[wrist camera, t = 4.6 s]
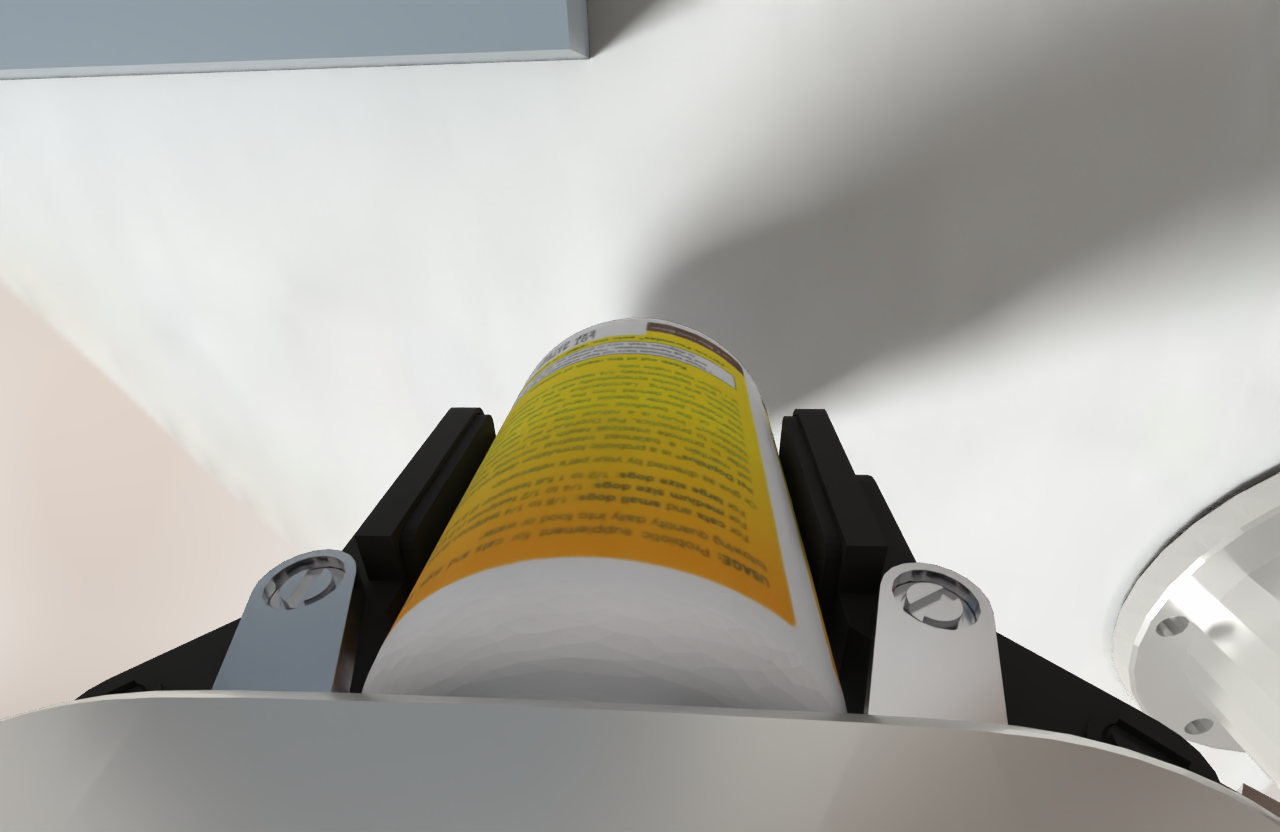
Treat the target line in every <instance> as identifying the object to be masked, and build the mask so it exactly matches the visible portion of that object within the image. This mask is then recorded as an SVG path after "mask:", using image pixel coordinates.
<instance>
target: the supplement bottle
mask: <svg viewBox="0 0 1280 832" xmlns="http://www.w3.org/2000/svg"><path fill="white" fill-rule="evenodd" d="M362 693H366V694H395V695H424V696H453V697H481V698H507V699H532V700H558V701H583V702H607V703H631V704H656V705H679V706H701V707H723V708H745V709H767V710H789V711H810V712H832V713H847V709H846V705H845V700H844V696H843V692H842V688H841V685H840V681H839V678H838V674H837V670H836V666H835V663H834V659H833V655H832V651H831V647H830V644H829V640H828V636H827V632H826V629H825V625H824V621H823V617H822V613H821V609H820V606H819V602H818V598H817V594H816V590H815V586H814V582H813V579H812V575H811V571H810V567H809V563H808V560H807V556H806V552H805V548H804V545H803V541H802V538H801V534H800V531H799V527H798V523H797V520H796V516H795V512H794V509H793V504H792V499H791V497H790V494H789V490H788V486H787V483H786V479H785V476H784V472H783V469H782V465H781V462H780V458H779V455H778V452H777V448H776V444H775V440H774V437H773V433H772V430H771V426H770V422H769V419H768V415H767V411H766V408H765V406H764V403H763V400H762V398H761V395H760V393H759V391H758V389H757V386H756V384H755V383H754V381H753V379H752V377H751V376H750V375H749V373H748V372H747V370H746V369H745V368H744V367H743V365H742V364H741V363H740V362H739V361H738V360H737V359H736V358H735V357H734V356H733V355H732V354H731V353H730V352H729V351H727V350H726V349H725V348H724V347H723V346H721V345H720V344H719V343H717V342H716V341H714V340H713V339H711V338H709V337H707V336H706V335H704V334H702V333H700V332H698V331H696V330H694V329H691V328H689V327H686V326H683V325H680V324H677V323H673V322H669V321H665V320H659V319H651V318H627V319H620V320H613V321H609V322H604V323H600V324H597V325H594V326H591V327H589V328H586V329H584V330H582V331H580V332H578V333H576V334H574V335H572V336H570V337H569V338H567V339H565V340H564V341H563V342H561V343H560V344H559V345H557V346H556V347H555V348H554V349H552V350H551V351H550V352H549V353H548V354H547V355H546V356H545V357H544V358H543V359H542V361H541V362H540V363H539V364H538V365H537V367H536V368H535V369H534V371H533V372H532V374H531V375H530V377H529V379H528V380H527V382H526V383H525V385H524V387H523V389H522V391H521V392H520V394H519V396H518V398H517V400H516V401H515V403H514V405H513V407H512V409H511V411H510V413H509V414H508V416H507V418H506V420H505V422H504V423H503V425H502V427H501V429H500V431H499V432H498V434H497V436H496V438H495V439H494V441H493V443H492V445H491V447H490V449H489V451H488V452H487V454H486V456H485V458H484V460H483V462H482V463H481V465H480V467H479V469H478V470H477V472H476V474H475V476H474V478H473V479H472V481H471V483H470V485H469V487H468V489H467V491H466V492H465V494H464V496H463V498H462V499H461V501H460V503H459V505H458V507H457V509H456V510H455V512H454V514H453V516H452V518H451V520H450V521H449V523H448V525H447V527H446V529H445V531H444V532H443V534H442V536H441V538H440V540H439V542H438V543H437V545H436V547H435V549H434V551H433V553H432V554H431V556H430V558H429V560H428V562H427V564H426V566H425V567H424V569H423V571H422V573H421V575H420V577H419V578H418V580H417V582H416V584H415V586H414V588H413V590H412V591H411V593H410V595H409V597H408V599H407V601H406V603H405V604H404V606H403V608H402V610H401V612H400V614H399V615H398V617H397V619H396V621H395V623H394V624H393V626H392V628H391V630H390V632H389V634H388V635H387V637H386V639H385V641H384V643H383V645H382V646H381V648H380V650H379V653H378V655H377V657H376V659H375V661H374V663H373V665H372V667H371V669H370V671H369V674H368V676H367V679H366V681H365V684H364V687H363V690H362Z"/></svg>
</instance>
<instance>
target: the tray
mask: <svg viewBox="0 0 1280 832" xmlns="http://www.w3.org/2000/svg"><path fill="white" fill-rule="evenodd" d="M578 59H590V50H589V34H588V17H587V0H0V80H13V79H42V78H70V77H98V76H126V75H154V74H183V73H211V72H239V71H267V70H295V69H324V68H352V67H380V66H408V65H436V64H465V63H493V62H521V61H549V60H578Z"/></svg>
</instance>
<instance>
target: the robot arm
mask: <svg viewBox="0 0 1280 832" xmlns="http://www.w3.org/2000/svg"><path fill="white" fill-rule="evenodd" d="M495 438H496V435H495V429H494V423H493V419H492V417H491V415H484V413H483V411H482V409H481V408H451V409H450V410H449V411H448V412H447V413H446V415H445V416H444V417H443V419H442V420H441V421H440V423H439V424H438V425H437V427H436V428H435V429H434V431H433V432H432V433H431V434H430V436H429V437H428V438H427V440H426V441H425V442H424V444H423V445H422V446H421V448H420V449H419V450H418V452H417V453H416V454H415V456H414V457H413V458H412V460H411V461H410V462H409V463H408V465H407V466H406V467H405V469H404V470H403V471H402V473H401V474H400V475H399V477H398V478H397V479H396V481H395V482H394V483H393V484H392V486H391V487H390V488H389V490H388V491H387V492H386V494H385V495H384V496H383V498H382V499H381V500H380V502H379V503H378V504H377V506H376V507H375V508H374V510H373V511H372V512H371V513H370V515H369V516H368V517H367V519H366V520H365V521H364V523H363V524H362V525H361V527H360V528H359V529H358V531H357V532H356V533H355V535H354V536H353V537H352V539H351V540H350V541H349V542H348V544H347V545H346V546H345V548H344V549H343V550H342V551H339V550H331V549H327V550H317V551H312V552H308V553H304V554H301V555H298V556H296V557H294V558H291V559H289V560H287V561H284V562H283V563H281V564H280V565H278V566H276V567H275V568H273V569H272V570H270V571H269V572H268V573H267V574H266V575H265V576H264V577H263V578H262V579H261V580H260V581H259V582H258V583H257V585H256V587H255V588H254V590H253V592H252V593H251V596H250V598H249V601H248V603H247V605H246V608H245V610H244V613H243V615H242V617H241V618H239V619H237V620H235V621H233V622H231V623H229V624H226V625H224V626H222V627H220V628H218V629H216V630H213V631H212V632H209V633H207V634H205V635H203V636H200V637H198V638H196V639H194V640H192V641H190V642H188V643H186V644H183V645H181V646H179V647H177V648H175V649H173V650H170V651H168V652H166V653H164V654H162V655H159V656H157V657H155V658H153V659H151V660H149V661H146V662H144V663H142V664H140V665H138V666H136V667H133V668H131V669H129V670H127V671H125V672H123V673H121V674H118V675H116V676H114V677H112V678H110V679H108V680H106V681H104V682H102V683H100V684H99V685H97V686H95V687H93V688H92V689H89V690H88V691H86V692H85V693H84V694H82V695H81V696H80V697H78V698H77V699H75V700H74V701H68V702H62V703H58V704H54V705H50V706H47V707H43V708H39V709H35V710H32V711H28V712H24V713H21V714H17V715H13V716H10V717H6V718H3V719H0V832H1280V802H1278V801H1276V800H1274V799H1272V798H1270V797H1268V796H1266V795H1265V794H1263V793H1261V792H1259V791H1257V790H1255V789H1253V788H1251V787H1250V786H1248V785H1246V784H1244V783H1243V784H1242V786H1241V787H1240V788H1239V789H1238V791H1235V790H1233V789H1231V788H1229V787H1227V786H1226V785H1224V784H1222V783H1220V781H1219V779H1218V777H1217V775H1216V772H1215V771H1214V770H1213V769H1212V767H1211V766H1210V765H1209V764H1208V762H1207V761H1206V760H1205V758H1204V757H1203V756H1202V755H1201V753H1200V752H1199V751H1197V750H1196V749H1195V748H1194V747H1193V746H1192V745H1191V744H1189V743H1188V742H1187V741H1186V740H1188V741H1191V742H1194V743H1198V744H1201V745H1205V746H1208V747H1211V748H1216V749H1224V750H1231V751H1238V752H1246V753H1247V754H1248V755H1249V756H1250V757H1251V758H1252V759H1253V761H1254V762H1255V763H1256V764H1257V765H1258V766H1259V767H1260V768H1261V770H1262V771H1263V772H1264V773H1265V774H1266V775H1267V776H1268V777H1269V779H1270V780H1271V781H1272V782H1273V783H1274V784H1275V785H1276V786H1277V788H1278V789H1279V790H1280V472H1279V473H1277V474H1275V475H1273V476H1271V477H1269V478H1268V479H1266V480H1264V481H1262V482H1260V483H1258V484H1256V485H1254V486H1252V487H1250V488H1249V489H1247V490H1245V491H1243V492H1241V493H1239V494H1237V495H1235V496H1234V497H1232V498H1231V499H1229V500H1228V501H1226V502H1225V503H1223V504H1222V505H1220V506H1219V507H1217V508H1216V509H1214V510H1213V511H1211V512H1210V513H1208V514H1207V515H1205V516H1204V517H1203V518H1201V519H1200V520H1198V521H1197V522H1195V523H1194V524H1193V525H1192V526H1190V527H1189V528H1188V529H1187V530H1186V531H1185V532H1184V533H1182V534H1181V535H1180V536H1179V537H1178V538H1177V539H1176V540H1174V541H1173V542H1172V543H1171V544H1170V545H1169V546H1168V547H1166V548H1165V549H1164V550H1163V551H1162V552H1161V553H1160V554H1159V555H1158V557H1157V558H1156V559H1155V560H1154V561H1153V562H1152V564H1151V565H1150V566H1149V567H1148V568H1147V569H1146V571H1145V572H1144V573H1143V574H1142V575H1141V576H1140V578H1139V579H1138V580H1137V582H1136V583H1135V585H1134V587H1133V589H1132V590H1131V592H1130V594H1129V595H1128V597H1127V599H1126V601H1125V602H1124V604H1123V606H1122V607H1121V610H1120V613H1119V616H1118V619H1117V622H1116V626H1115V629H1114V632H1113V636H1112V661H1113V664H1114V667H1115V670H1116V673H1117V675H1118V678H1119V681H1120V682H1121V683H1122V685H1123V686H1124V687H1125V689H1126V690H1127V691H1128V693H1129V694H1130V695H1131V697H1132V698H1133V700H1134V701H1135V702H1136V704H1137V705H1138V706H1139V708H1140V709H1141V710H1142V712H1141V711H1139V710H1137V709H1136V708H1134V707H1132V706H1130V705H1128V704H1126V703H1125V702H1123V701H1121V700H1119V699H1117V698H1116V697H1114V696H1112V695H1110V694H1108V693H1106V692H1105V691H1103V690H1101V689H1099V688H1097V687H1095V686H1094V685H1092V684H1090V683H1088V682H1086V681H1085V680H1083V679H1081V678H1079V677H1077V676H1075V675H1074V674H1072V673H1070V672H1068V671H1066V670H1064V669H1063V668H1061V667H1059V666H1057V665H1055V664H1054V663H1052V662H1050V661H1048V660H1046V659H1044V658H1043V657H1041V656H1039V655H1037V654H1035V653H1034V652H1032V651H1030V650H1028V649H1026V648H1024V647H1023V646H1021V645H1019V644H1017V643H1015V642H1013V641H1012V640H1010V639H1008V638H1006V637H1004V636H1003V635H1001V634H999V633H997V632H996V628H995V620H994V613H993V610H992V607H991V604H990V601H989V600H988V598H987V597H986V596H985V595H984V593H983V592H982V591H981V589H980V588H978V587H977V586H976V585H975V584H973V583H972V582H971V581H970V580H968V579H967V578H965V577H963V576H961V575H960V574H958V573H956V572H954V571H952V570H949V569H946V568H943V567H940V566H937V565H933V564H926V563H919V562H918V563H916V561H915V559H914V557H913V555H912V553H911V551H910V549H909V547H908V545H907V543H906V541H905V539H904V537H903V535H902V533H901V531H900V529H899V527H898V525H897V523H896V521H895V519H894V517H893V515H892V513H891V511H890V509H889V507H888V505H887V503H886V501H885V499H884V497H883V495H882V493H881V491H880V489H879V487H878V485H877V484H876V482H875V480H874V479H873V477H872V476H869V475H855V473H854V471H853V469H852V466H851V464H850V462H849V460H848V458H847V456H846V453H845V451H844V449H843V447H842V445H841V443H840V440H839V438H838V436H837V434H836V432H835V430H834V427H833V425H832V423H831V421H830V419H829V417H828V414H827V412H826V411H825V409H795V410H794V412H793V416H784V417H783V421H782V430H781V440H780V450H779V458H780V462H781V465H782V469H783V472H784V476H785V479H786V483H787V486H788V490H789V494H790V497H791V499H792V504H793V509H794V512H795V516H796V520H797V523H798V527H799V531H800V534H801V538H802V541H803V545H804V548H805V552H806V556H807V560H808V563H809V567H810V571H811V575H812V579H813V582H814V586H815V590H816V594H817V598H818V602H819V606H820V609H821V613H822V617H823V621H824V625H825V629H826V632H827V636H828V640H829V644H830V647H831V651H832V655H833V659H834V663H835V666H836V670H837V674H838V678H839V681H840V685H841V688H842V692H843V696H844V700H845V705H846V709H847V713H832V712H810V711H789V710H767V709H745V708H723V707H701V706H679V705H656V704H631V703H607V702H583V701H558V700H532V699H507V698H481V697H453V696H424V695H395V694H366V693H362V690H363V687H364V684H365V681H366V679H367V676H368V674H369V671H370V669H371V667H372V665H373V663H374V661H375V659H376V657H377V655H378V653H379V650H380V648H381V646H382V645H383V643H384V641H385V639H386V637H387V635H388V634H389V632H390V630H391V628H392V626H393V624H394V623H395V621H396V619H397V617H398V615H399V614H400V612H401V610H402V608H403V606H404V604H405V603H406V601H407V599H408V597H409V595H410V593H411V591H412V590H413V588H414V586H415V584H416V582H417V580H418V578H419V577H420V575H421V573H422V571H423V569H424V567H425V566H426V564H427V562H428V560H429V558H430V556H431V554H432V553H433V551H434V549H435V547H436V545H437V543H438V542H439V540H440V538H441V536H442V534H443V532H444V531H445V529H446V527H447V525H448V523H449V521H450V520H451V518H452V516H453V514H454V512H455V510H456V509H457V507H458V505H459V503H460V501H461V499H462V498H463V496H464V494H465V492H466V491H467V489H468V487H469V485H470V483H471V481H472V479H473V478H474V476H475V474H476V472H477V470H478V469H479V467H480V465H481V463H482V462H483V460H484V458H485V456H486V454H487V452H488V451H489V449H490V447H491V445H492V443H493V441H494V439H495ZM1143 712H1144V713H1143Z"/></svg>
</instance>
